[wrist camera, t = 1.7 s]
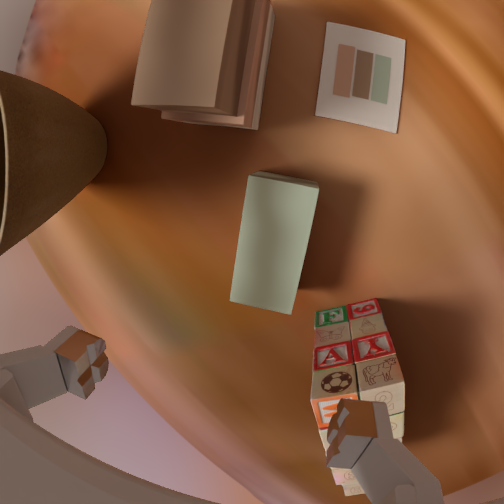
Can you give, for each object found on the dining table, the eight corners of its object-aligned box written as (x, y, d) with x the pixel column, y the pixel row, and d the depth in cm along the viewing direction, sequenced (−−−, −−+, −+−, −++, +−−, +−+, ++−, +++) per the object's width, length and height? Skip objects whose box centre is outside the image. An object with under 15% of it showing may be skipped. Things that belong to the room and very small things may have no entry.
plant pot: (49, 221, 32) (-55, 266, 17) (38, 102, 27) (-71, 106, 12) (148, 213, 29) (24, 274, 14) (137, 65, 24) (10, 27, 10)
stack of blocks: (388, 432, 33) (398, 508, 22) (343, 441, 35) (342, 517, 23) (376, 295, 28) (406, 382, 16) (313, 310, 29) (309, 402, 18)
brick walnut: (257, -10, 16) (242, -45, 11) (236, 116, 19) (214, 107, 14) (190, -8, 16) (162, -38, 12) (168, 111, 20) (130, 104, 15)
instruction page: (404, 40, 20) (405, 39, 19) (395, 133, 23) (396, 133, 22) (326, 22, 20) (327, 21, 20) (314, 115, 24) (314, 115, 23)
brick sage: (317, 181, 26) (319, 188, 21) (294, 288, 29) (290, 314, 24) (259, 170, 26) (248, 175, 21) (242, 276, 30) (229, 300, 25)
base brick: (275, 16, 21) (265, -15, 15) (258, 130, 25) (243, 124, 19) (209, 14, 22) (185, -13, 16) (191, 123, 26) (161, 118, 20)
